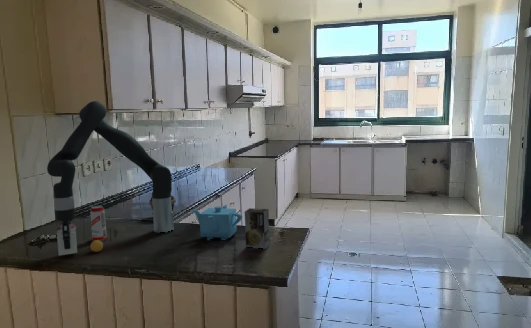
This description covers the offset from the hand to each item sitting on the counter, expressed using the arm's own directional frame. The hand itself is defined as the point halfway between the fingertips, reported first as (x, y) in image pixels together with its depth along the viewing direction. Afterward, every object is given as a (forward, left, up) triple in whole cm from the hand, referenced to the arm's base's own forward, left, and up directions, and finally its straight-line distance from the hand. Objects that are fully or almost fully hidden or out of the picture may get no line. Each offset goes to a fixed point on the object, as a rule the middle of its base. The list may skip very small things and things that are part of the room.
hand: (67, 246), depth 166 cm
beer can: (-13, -18, -4) cm, 23 cm away
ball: (-11, 0, -2) cm, 11 cm away
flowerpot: (-49, -47, -4) cm, 68 cm away
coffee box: (-74, +29, -4) cm, 80 cm away
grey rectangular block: (0, 0, -2) cm, 2 cm away
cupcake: (+1, -32, -4) cm, 32 cm away
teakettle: (-63, +7, -4) cm, 64 cm away
